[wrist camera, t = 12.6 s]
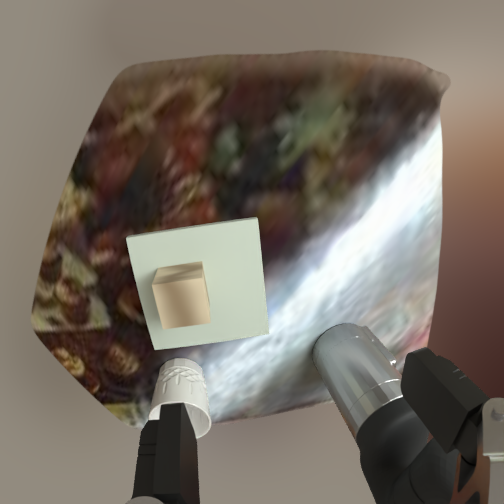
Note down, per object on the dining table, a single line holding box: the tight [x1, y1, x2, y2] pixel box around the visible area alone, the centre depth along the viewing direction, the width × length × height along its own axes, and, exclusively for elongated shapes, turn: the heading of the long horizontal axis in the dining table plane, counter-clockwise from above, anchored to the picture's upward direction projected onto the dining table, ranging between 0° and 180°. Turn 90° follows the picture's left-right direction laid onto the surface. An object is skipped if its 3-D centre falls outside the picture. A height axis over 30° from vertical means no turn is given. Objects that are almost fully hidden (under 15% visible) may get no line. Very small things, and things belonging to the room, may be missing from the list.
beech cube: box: [152, 261, 211, 329], centre depth 36 cm, size 6×6×6 cm
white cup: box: [149, 358, 211, 439], centre depth 39 cm, size 8×8×10 cm
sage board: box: [126, 217, 269, 350], centre depth 39 cm, size 16×16×1 cm
